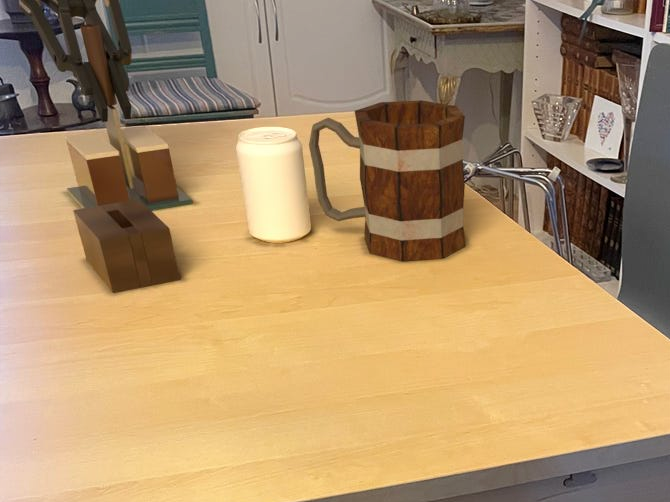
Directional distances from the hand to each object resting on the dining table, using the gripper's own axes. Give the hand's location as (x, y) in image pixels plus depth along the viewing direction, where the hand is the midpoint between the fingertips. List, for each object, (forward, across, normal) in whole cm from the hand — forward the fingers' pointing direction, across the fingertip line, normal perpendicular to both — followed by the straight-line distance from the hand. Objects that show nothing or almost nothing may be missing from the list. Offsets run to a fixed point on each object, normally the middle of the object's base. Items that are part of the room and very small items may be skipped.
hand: (116, 113), depth 124 cm
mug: (+30, -24, +14) cm, 41 cm away
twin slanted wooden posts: (+6, 0, -11) cm, 12 cm away
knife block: (+25, +8, +9) cm, 27 cm away
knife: (+4, 0, -10) cm, 10 cm away
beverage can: (+23, -13, +7) cm, 28 cm away
